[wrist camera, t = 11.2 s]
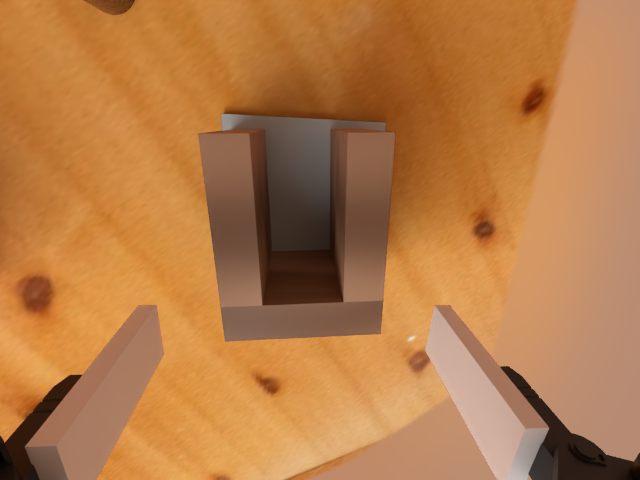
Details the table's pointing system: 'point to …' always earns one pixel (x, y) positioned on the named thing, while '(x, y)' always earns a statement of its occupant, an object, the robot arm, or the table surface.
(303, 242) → the mat
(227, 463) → the table surface
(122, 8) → the post
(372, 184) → the c link
